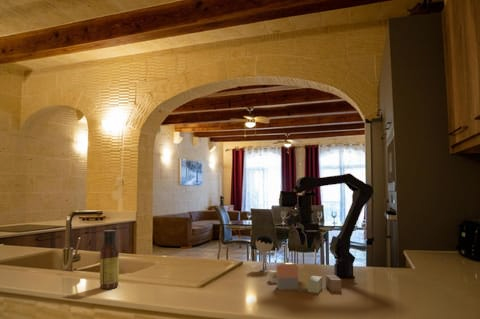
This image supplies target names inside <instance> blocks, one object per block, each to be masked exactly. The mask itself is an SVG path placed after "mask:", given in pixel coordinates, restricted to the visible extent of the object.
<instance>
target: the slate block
mask: <svg viewBox="0 0 480 319" xmlns="http://www.w3.org/2000/svg"><path fill="white" fill-rule="evenodd" d="M276 288H277V289H278V290H279V291H280V290H281V291H284V290H285V291H286V289H287V291H288V290H299V277H298V278H278V277H277V283H276Z"/></svg>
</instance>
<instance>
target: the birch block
mask: <svg viewBox="0 0 480 319" xmlns="http://www.w3.org/2000/svg"><path fill="white" fill-rule="evenodd" d="M268 281H269V282H270V283H272V284H275V283H276V284H277V269H272V270H271V269H270V270H269V269H268Z"/></svg>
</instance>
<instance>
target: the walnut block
mask: <svg viewBox="0 0 480 319" xmlns="http://www.w3.org/2000/svg"><path fill="white" fill-rule="evenodd" d="M325 287H326V288H327V289H328V290H330V292H342V278H339V277H337V276H336V275H334V274H331V275H330V274H326V275H325Z"/></svg>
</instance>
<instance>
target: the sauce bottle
mask: <svg viewBox="0 0 480 319" xmlns="http://www.w3.org/2000/svg"><path fill="white" fill-rule="evenodd" d="M116 234H117V232H116V229H108V230H103V245H102V247H101V249H100V258H99V284H100V286H99V287H100V289H103V290H112V289H115V288H117V287H118V286H119V279H120V278H119V276H120V275H119V274H120V273H119V272H120V271H119V270H120V266H119V264H120V263H119V262H120V261H119V260H120V253H119V250H118V246H117V243H116Z"/></svg>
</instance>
